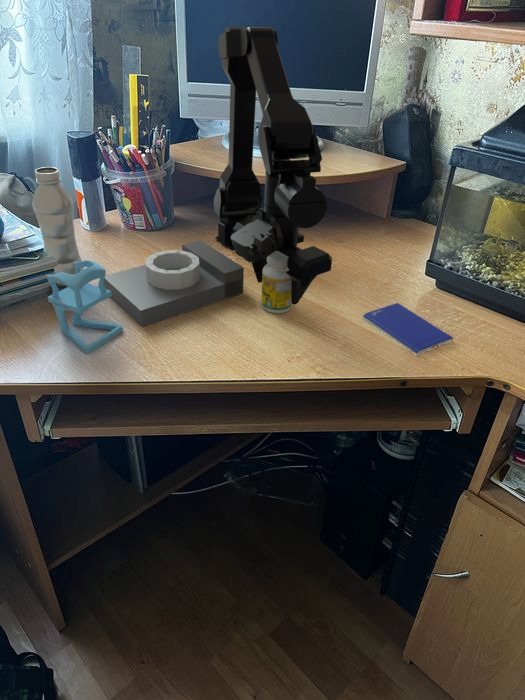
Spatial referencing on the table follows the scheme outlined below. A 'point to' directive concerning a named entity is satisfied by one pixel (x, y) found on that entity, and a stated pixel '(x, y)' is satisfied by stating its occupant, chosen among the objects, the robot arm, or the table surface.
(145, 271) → the grey ring holder base
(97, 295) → the chair
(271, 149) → the robot arm
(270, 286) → the supplement bottle
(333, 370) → the table surface
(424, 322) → the hard drive
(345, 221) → the table surface
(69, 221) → the plastic bottle
